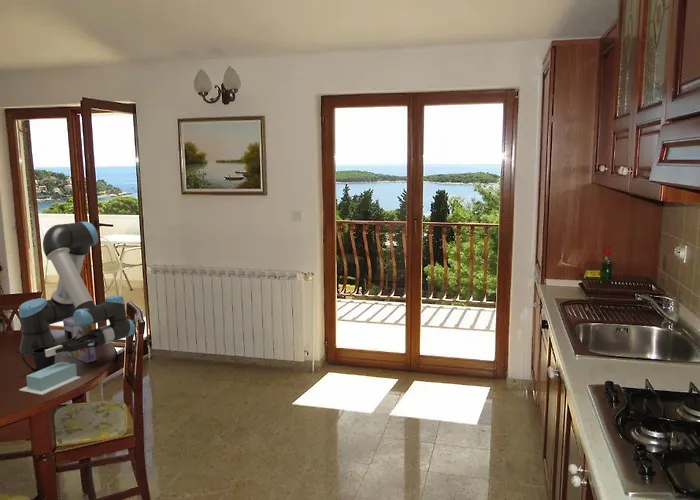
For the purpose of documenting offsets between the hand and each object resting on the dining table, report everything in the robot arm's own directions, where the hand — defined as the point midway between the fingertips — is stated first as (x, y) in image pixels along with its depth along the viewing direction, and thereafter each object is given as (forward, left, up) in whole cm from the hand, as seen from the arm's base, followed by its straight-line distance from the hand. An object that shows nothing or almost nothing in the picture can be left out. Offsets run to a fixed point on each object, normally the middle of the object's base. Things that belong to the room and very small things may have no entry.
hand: (46, 353), depth 219 cm
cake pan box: (-10, +25, -12) cm, 29 cm away
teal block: (+2, +8, -9) cm, 12 cm away
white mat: (+2, -1, -12) cm, 12 cm away
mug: (-13, +6, -12) cm, 19 cm away
